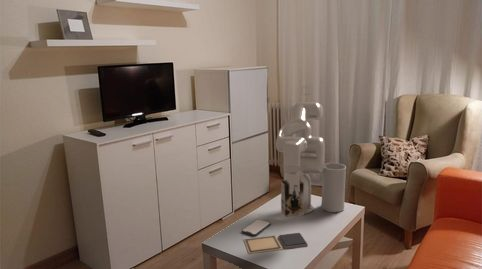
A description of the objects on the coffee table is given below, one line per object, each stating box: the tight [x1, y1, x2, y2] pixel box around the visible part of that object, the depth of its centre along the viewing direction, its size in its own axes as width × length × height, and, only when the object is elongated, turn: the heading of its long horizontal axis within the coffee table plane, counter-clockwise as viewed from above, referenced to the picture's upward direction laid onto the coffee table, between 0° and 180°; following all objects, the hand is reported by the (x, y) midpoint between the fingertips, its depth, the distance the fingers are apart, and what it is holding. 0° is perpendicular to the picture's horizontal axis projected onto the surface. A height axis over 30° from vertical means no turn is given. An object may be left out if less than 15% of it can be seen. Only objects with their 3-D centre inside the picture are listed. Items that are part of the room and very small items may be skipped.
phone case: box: [241, 219, 271, 238], centre depth 192 cm, size 9×2×16 cm
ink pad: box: [277, 232, 309, 250], centre depth 178 cm, size 11×11×2 cm
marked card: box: [243, 234, 284, 255], centre depth 176 cm, size 13×16×1 cm
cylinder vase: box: [321, 162, 347, 213], centre depth 209 cm, size 12×12×25 cm
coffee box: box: [280, 180, 304, 218], centre depth 173 cm, size 9×6×16 cm
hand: (292, 203), depth 174 cm, fingers closed on coffee box, 6 cm apart
